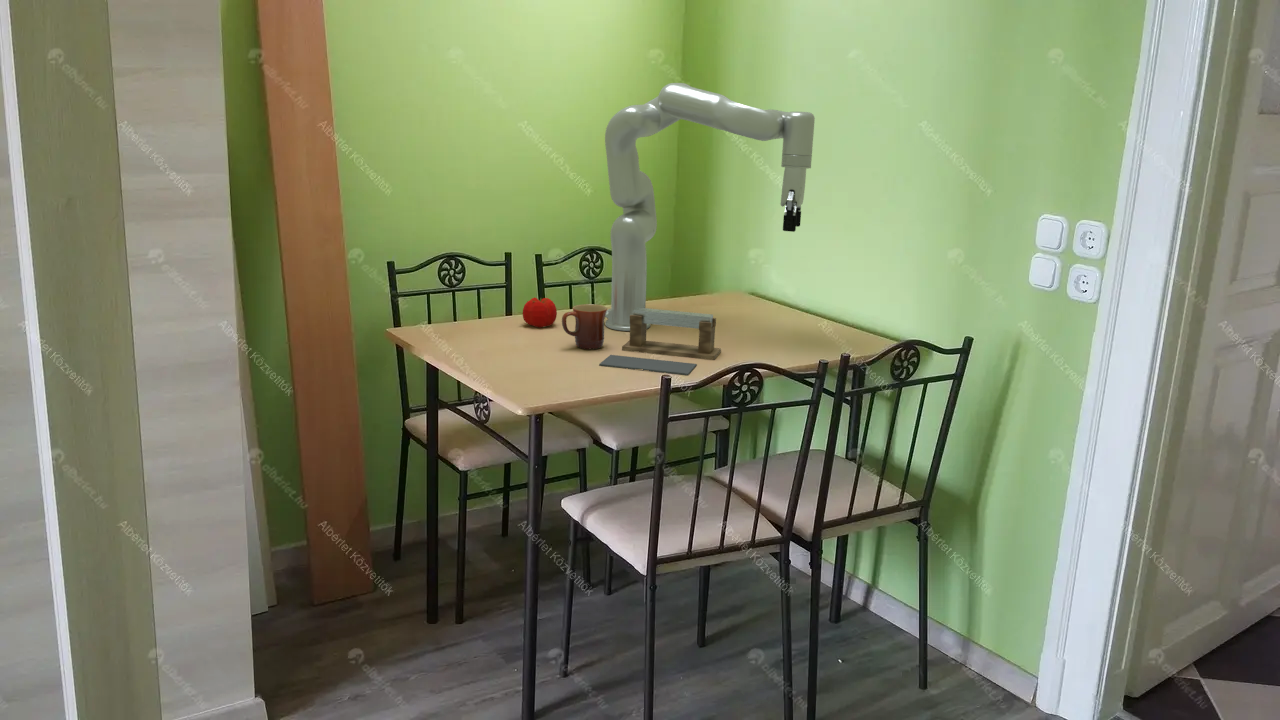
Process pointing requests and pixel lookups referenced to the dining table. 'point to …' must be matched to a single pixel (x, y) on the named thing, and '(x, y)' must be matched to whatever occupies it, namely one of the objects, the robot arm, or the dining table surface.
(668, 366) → the mat
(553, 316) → the tomato
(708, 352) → the rack
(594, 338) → the mug
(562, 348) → the dining table surface
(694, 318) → the rail
